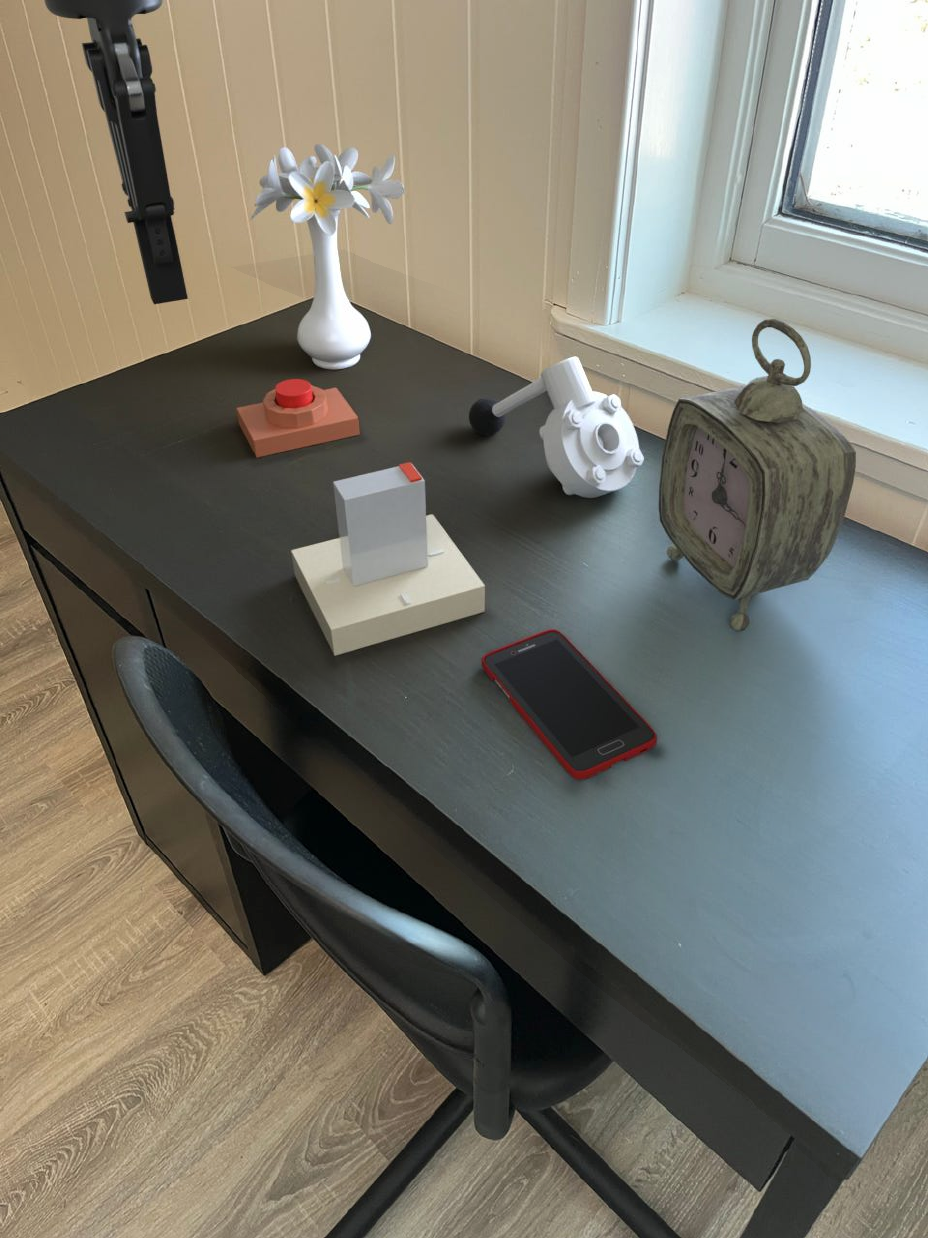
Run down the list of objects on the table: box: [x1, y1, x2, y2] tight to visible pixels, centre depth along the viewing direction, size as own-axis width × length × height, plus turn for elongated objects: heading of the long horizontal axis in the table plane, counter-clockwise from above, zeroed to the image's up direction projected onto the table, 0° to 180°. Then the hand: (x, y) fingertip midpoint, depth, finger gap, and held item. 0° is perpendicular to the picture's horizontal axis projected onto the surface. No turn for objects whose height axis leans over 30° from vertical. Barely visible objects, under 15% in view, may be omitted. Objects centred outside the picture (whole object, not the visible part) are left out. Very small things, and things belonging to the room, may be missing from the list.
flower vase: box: [250, 143, 405, 370], centre depth 114 cm, size 13×18×25 cm
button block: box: [236, 384, 361, 458], centre depth 107 cm, size 12×8×4 cm, turn 114°
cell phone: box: [481, 628, 658, 781], centre depth 75 cm, size 8×15×1 cm, turn 29°
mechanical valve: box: [468, 356, 645, 499], centre depth 101 cm, size 10×18×15 cm
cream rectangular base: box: [290, 513, 486, 657], centre depth 85 cm, size 14×12×3 cm
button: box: [274, 378, 313, 408], centre depth 106 cm, size 4×4×2 cm
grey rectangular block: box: [332, 461, 428, 586], centre depth 81 cm, size 7×3×9 cm, turn 114°
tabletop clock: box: [658, 318, 857, 632], centre depth 78 cm, size 14×9×25 cm, turn 21°
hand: (169, 297), depth 76 cm, fingers closed
